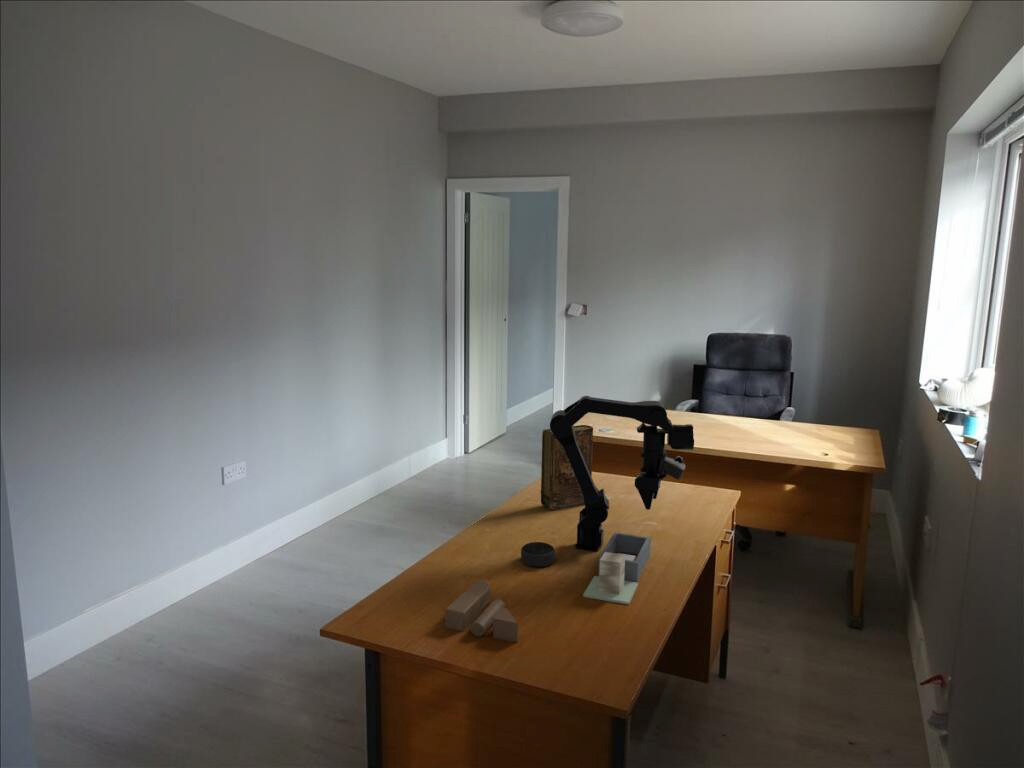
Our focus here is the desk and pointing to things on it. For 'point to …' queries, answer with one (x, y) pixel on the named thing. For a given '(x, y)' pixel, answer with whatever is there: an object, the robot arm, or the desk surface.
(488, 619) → the wooden block set
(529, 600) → the desk surface
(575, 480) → the book
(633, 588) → the sage mat
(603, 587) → the ash block
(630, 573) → the slotted box
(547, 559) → the smart speaker
